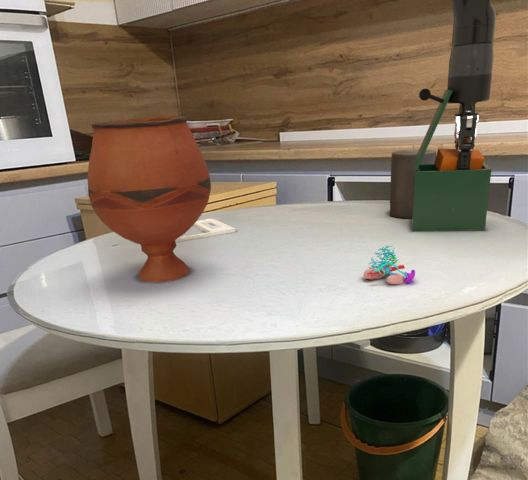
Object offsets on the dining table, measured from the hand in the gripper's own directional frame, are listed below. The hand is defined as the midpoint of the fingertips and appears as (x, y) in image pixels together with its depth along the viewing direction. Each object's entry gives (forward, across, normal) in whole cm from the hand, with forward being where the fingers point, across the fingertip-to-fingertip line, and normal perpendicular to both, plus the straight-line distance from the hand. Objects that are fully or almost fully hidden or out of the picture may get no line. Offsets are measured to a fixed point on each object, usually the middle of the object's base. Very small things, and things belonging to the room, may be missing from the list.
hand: (461, 170), depth 104 cm
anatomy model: (+11, -36, +13) cm, 40 cm away
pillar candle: (+11, +14, +9) cm, 20 cm away
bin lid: (-8, +1, +6) cm, 10 cm away
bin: (+11, +1, +2) cm, 11 cm away
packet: (-1, 0, +1) cm, 1 cm away
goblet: (+11, -34, +50) cm, 62 cm away
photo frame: (+11, -3, +58) cm, 59 cm away
